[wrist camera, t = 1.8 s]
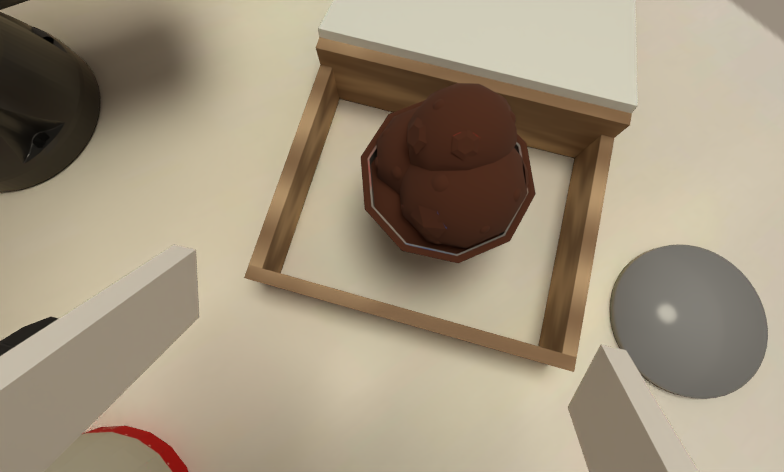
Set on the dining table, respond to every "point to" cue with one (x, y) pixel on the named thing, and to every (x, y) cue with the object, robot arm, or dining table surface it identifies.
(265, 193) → the dining table surface
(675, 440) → the robot arm
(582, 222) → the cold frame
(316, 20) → the dining table surface
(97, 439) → the kitchen timer
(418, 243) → the ice cream bowl
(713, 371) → the coaster
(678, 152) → the dining table surface
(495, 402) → the dining table surface
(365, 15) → the lid
